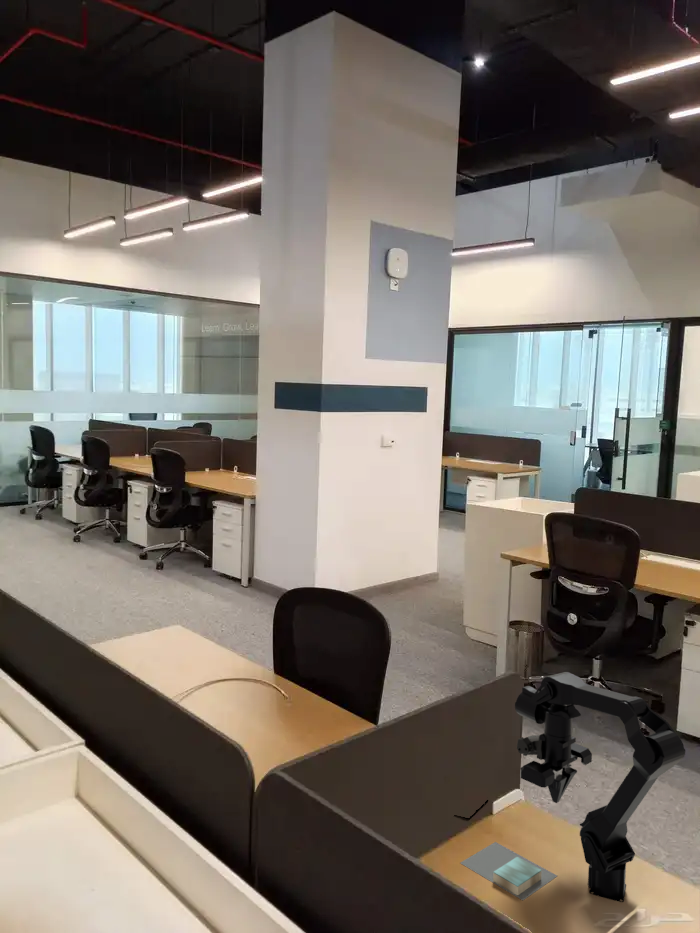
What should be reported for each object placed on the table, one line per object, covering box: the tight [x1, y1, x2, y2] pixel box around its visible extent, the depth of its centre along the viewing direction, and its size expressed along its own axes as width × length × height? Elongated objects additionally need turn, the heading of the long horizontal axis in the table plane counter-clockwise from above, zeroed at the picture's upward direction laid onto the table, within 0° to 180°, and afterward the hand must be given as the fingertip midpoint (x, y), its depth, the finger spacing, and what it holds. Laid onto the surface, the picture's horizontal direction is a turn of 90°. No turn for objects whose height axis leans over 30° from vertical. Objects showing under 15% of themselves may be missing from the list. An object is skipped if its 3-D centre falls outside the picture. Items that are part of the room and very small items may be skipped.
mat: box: [460, 841, 558, 901], centre depth 157 cm, size 16×12×1 cm
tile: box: [493, 857, 541, 896], centre depth 154 cm, size 6×2×8 cm
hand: (555, 801), depth 163 cm, fingers closed
